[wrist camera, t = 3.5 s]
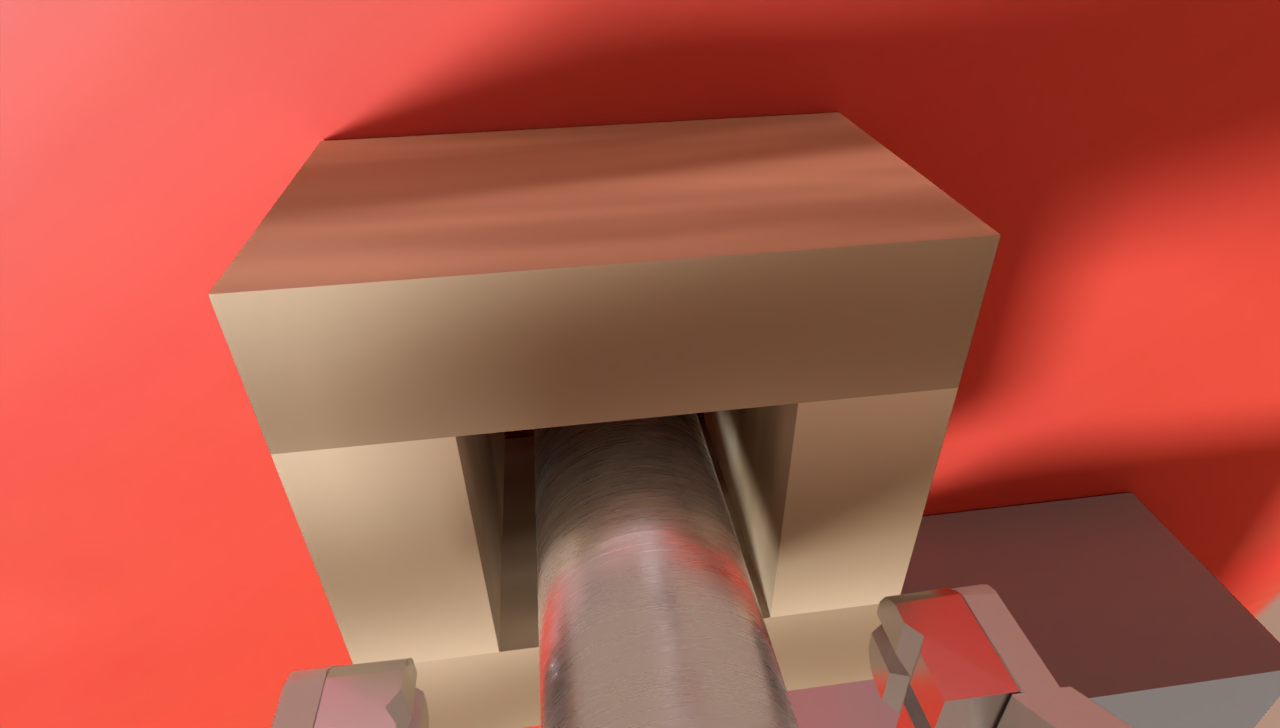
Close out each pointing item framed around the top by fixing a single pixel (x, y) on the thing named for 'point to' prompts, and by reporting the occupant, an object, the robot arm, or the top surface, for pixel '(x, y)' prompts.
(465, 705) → the mount block
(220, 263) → the top surface
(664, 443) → the pin
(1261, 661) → the dock block
